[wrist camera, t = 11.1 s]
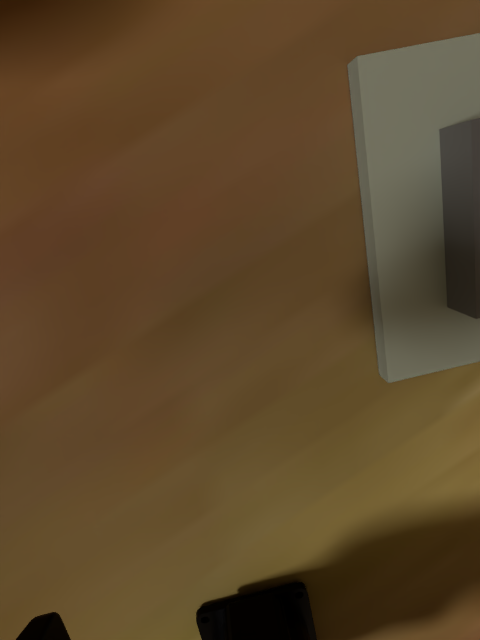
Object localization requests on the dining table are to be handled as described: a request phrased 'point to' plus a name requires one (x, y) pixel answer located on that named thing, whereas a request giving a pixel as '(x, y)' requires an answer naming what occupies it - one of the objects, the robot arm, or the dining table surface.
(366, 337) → the dining table surface
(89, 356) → the dining table surface
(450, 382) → the dining table surface
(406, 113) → the end holder
